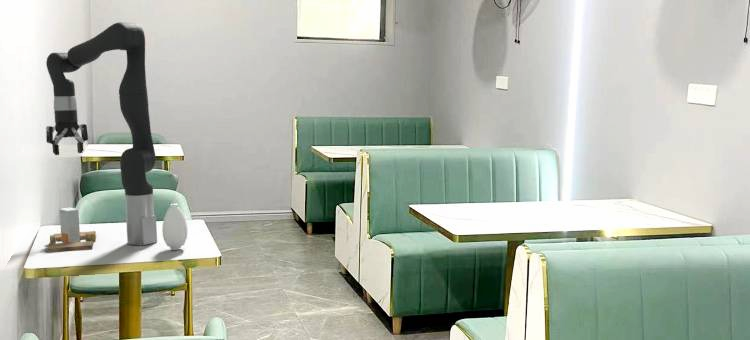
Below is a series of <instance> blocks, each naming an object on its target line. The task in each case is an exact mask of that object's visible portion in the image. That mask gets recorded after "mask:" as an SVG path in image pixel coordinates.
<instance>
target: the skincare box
mask: <svg viewBox="0 0 750 340" xmlns="http://www.w3.org/2000/svg"><path fill="white" fill-rule="evenodd" d="M79 213H80V212H79V209H77V208H74V207H65V208H64V207H63V208H59V223H60V233H61V241H60V242H61V243H70V242H81V239H80V214H79Z"/></svg>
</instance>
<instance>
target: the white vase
mask: <svg viewBox="0 0 750 340" xmlns="http://www.w3.org/2000/svg"><path fill="white" fill-rule="evenodd" d="M161 233H162V239H163V241H164V242H165V243H164V244H166V246H167V247H169V248H170V250H172V251H179V249H181V248H182V246H184V245H185V244H186V242H187V239H188V225H187V220H186V217H185V214H184V213H183V210H182V209H181V208H180V207H179V204H178V203H175V196H174V195H173V197H172V203H170V204H169V208H167V211H166V212H165V214H164V218H163V222H162V231H161Z"/></svg>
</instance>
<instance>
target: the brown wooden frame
mask: <svg viewBox="0 0 750 340" xmlns="http://www.w3.org/2000/svg"><path fill="white" fill-rule="evenodd" d="M96 239H97V233H96V231H95V230H93V231H91V230H90V231H81V232H80V240H85V241H80V242H70V243H63V242H62V241H61V232H60V233H54V234H50V235H49V243H48V245H47V247H46V253H53V252H54V253H55V252H66V251H67V252H68V251H78V250H80V251H81V250H92V249H93V246H94V242H96ZM57 242H58V243H57ZM59 242H60V243H59Z"/></svg>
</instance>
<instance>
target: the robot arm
mask: <svg viewBox="0 0 750 340" xmlns="http://www.w3.org/2000/svg"><path fill="white" fill-rule="evenodd" d="M118 50H119V51H126V68H125V70H124V74H123V77H122V79H121V82H120V84H119V89H118V95H119V96H118V97H119V99H118V100H119V106H120V107H119V108H120V111H121V114H122V116H123V118H124V120H125V122H126V123H127V126H128V128H129V131H130V134H131V139H132V147H131V148H127V149H126V150H124V151H123V152H122V154H121V156H120V160H119V162H120V163H119V164H120V166H119V167H120V176H121V185H122V187H123V189H124V195H125V196H124V197H125V200H124V202H125V217H126V218H125V221H126V223H125V224H126V237H127V238H126V239H127V244H128V245H132V246H146V245H150V244H154V243H157V242H158V234H157V233H158V231H157V229H158V228H157V216H156V215H155V211H154V209H155V207H154V187H153V185H152V184H151V183H149V182H148V181H147V177H146V176H147V175H146V173H150V172H151V171H152V170H153V169H154V167H155V165H156V163H157V162H156V161H157V160H156V151H155V147H154V141H153V136H152V131H151V130H152V129H151V122H150V121H151V120H150V113H149V112H150V109H149V97H148V88H147V74H146V36H145V31H144V29H143V27H142V26H141V25H140V24H137V23H133V22H116V23H112V24H111V25H110V26H108V27H107V28H106V29H104V30H103V31H102V32H100V33H99V34H97V35H95V36H94V37H93V38H90V39H88V40H86V41H85V42H81V43H80V44H77V45H75V46H73V47H71V48H70V49H68V51H67V52H51V53H49V54H48V56H47V58H46V63H45V64H46V68H47V72H48V75H49V77H50V80H51V83H52V86H53V87H52V88H53V111H54V113H53V114H54V123H55V125H54V126H52V125H51V126H50V125H47V126H46V129H45V130H46V133H45V134H46V135H45V137H46V139H45V140H46V143H47V144H50V145H52V153H53V154H54V155H55V156H59V155H60V146H59V143H60V141H61V140H63V138H74V139H75V141H77V143H76V145H77V153H78V154H83V152H84V142H86V141H89V134H88V127H87V124H86V123H85V124H84V123H81V124H79V123H78V107H77V98H76V89H75V87H76V86H75V82H74V81H73V80H71V79H69V78H67V77H66V76H65V73H67V74H68V73H74V72H76V71H78V70H80V69H81V68H82V66H85V65H87V64H90V63H92V62H94V61H96V60H98V59H99V57H101V56H102V54H103V53H106V52H111V51H118ZM78 130H79V131H80V133H81V135H80V134H79V132H78ZM54 132H56V134H55V135H54Z"/></svg>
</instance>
